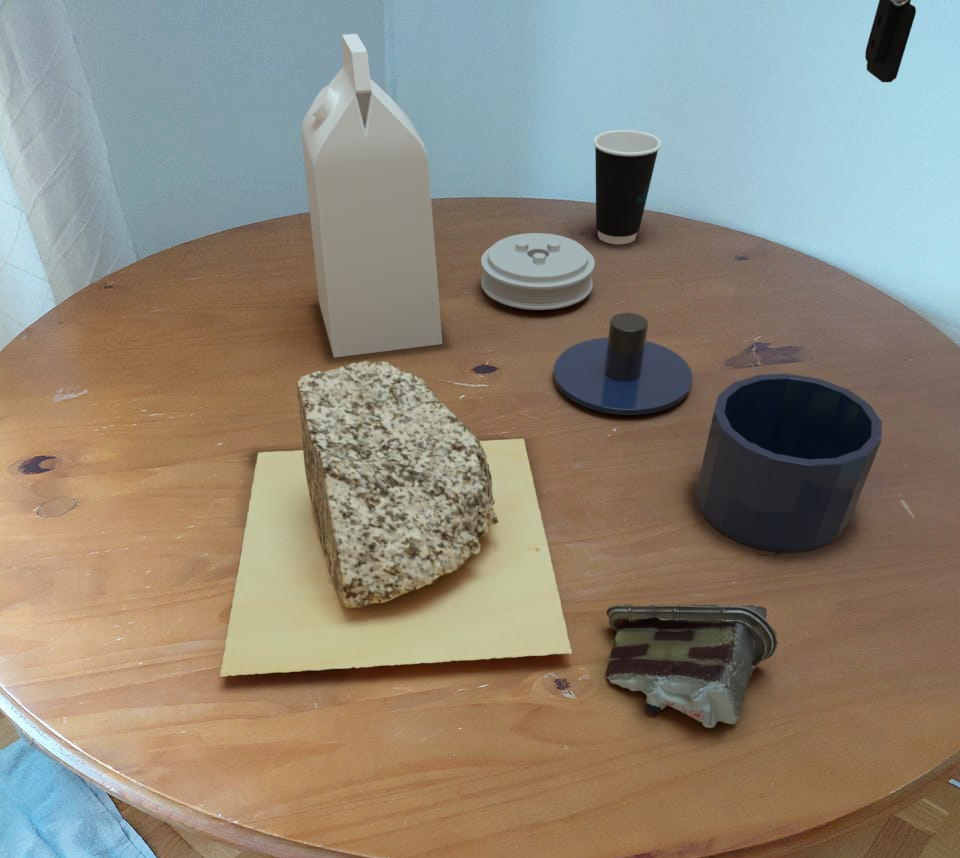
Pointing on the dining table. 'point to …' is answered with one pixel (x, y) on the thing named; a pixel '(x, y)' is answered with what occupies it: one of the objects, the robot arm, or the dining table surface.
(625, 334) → the pot lid
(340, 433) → the rock
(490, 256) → the lid
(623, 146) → the dixie cup
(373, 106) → the milk
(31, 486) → the dining table surface
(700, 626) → the chocolate cake
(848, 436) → the pot
